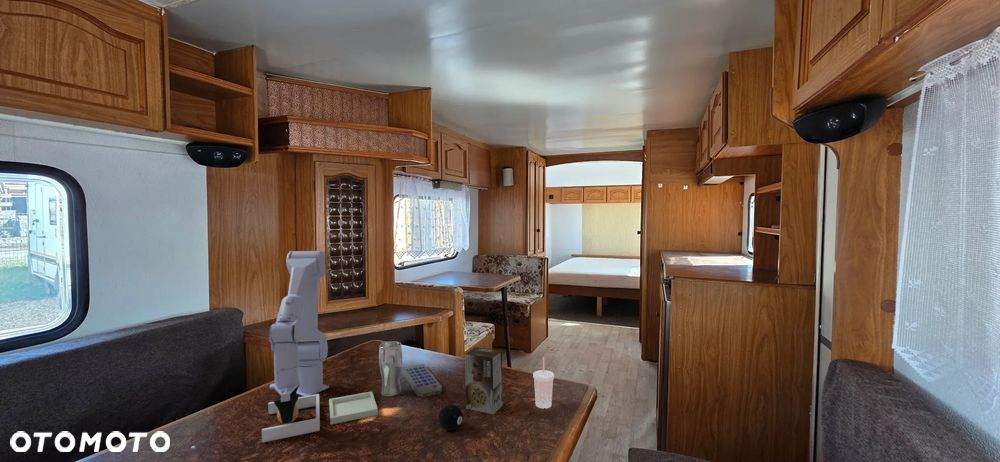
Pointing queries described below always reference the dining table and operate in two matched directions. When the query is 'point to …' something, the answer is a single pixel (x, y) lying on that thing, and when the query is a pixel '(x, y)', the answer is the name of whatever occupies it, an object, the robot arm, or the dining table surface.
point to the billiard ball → (450, 417)
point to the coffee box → (483, 380)
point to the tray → (352, 407)
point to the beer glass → (390, 367)
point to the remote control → (422, 380)
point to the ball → (293, 415)
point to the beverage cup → (543, 387)
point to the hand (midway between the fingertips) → (288, 416)
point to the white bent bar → (296, 427)
